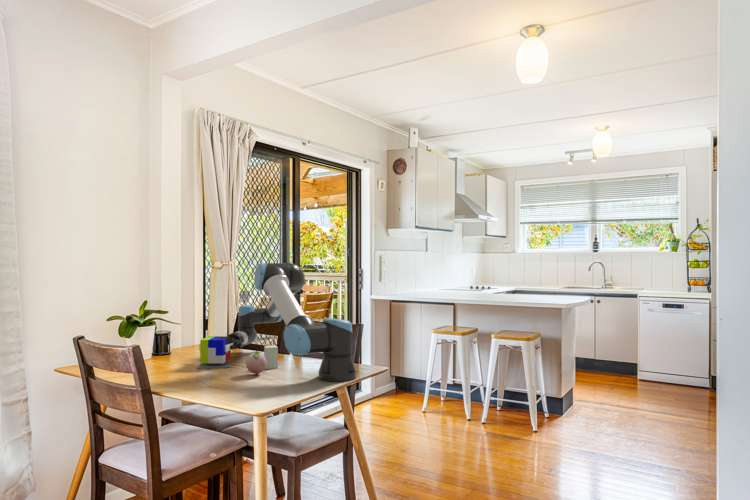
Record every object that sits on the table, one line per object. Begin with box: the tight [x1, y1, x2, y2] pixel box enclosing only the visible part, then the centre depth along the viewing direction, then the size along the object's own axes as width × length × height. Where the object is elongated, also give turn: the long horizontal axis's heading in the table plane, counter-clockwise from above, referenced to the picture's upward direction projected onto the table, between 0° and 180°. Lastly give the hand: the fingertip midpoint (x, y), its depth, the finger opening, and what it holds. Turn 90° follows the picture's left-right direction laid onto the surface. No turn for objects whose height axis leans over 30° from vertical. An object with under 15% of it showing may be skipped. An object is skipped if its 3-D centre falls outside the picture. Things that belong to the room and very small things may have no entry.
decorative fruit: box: [245, 349, 267, 376], centre depth 206 cm, size 9×8×10 cm
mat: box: [197, 359, 233, 370], centre depth 224 cm, size 13×13×1 cm
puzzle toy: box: [199, 335, 231, 364], centre depth 224 cm, size 10×10×10 cm
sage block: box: [263, 344, 279, 370], centre depth 220 cm, size 5×5×9 cm
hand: (212, 348), depth 222 cm, fingers closed on puzzle toy, 11 cm apart
